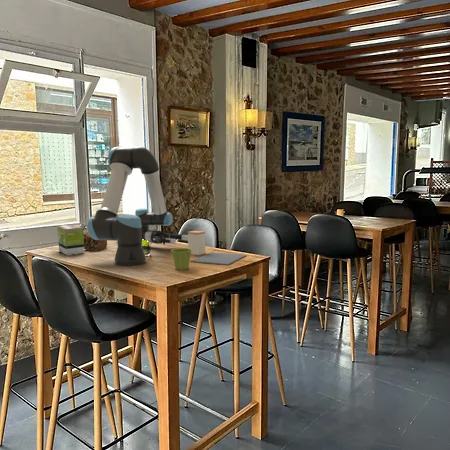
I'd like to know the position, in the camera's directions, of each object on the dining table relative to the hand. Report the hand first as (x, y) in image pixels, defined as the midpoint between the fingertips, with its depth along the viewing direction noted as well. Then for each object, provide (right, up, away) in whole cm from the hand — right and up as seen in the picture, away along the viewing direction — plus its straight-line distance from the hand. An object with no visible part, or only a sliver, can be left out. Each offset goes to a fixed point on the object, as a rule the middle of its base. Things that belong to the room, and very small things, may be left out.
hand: (183, 240), depth 236 cm
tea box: (-62, -7, +1) cm, 62 cm away
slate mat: (+20, -9, -19) cm, 29 cm away
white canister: (+8, -7, -4) cm, 11 cm away
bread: (-56, -6, +13) cm, 57 cm away
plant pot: (+3, -12, -39) cm, 41 cm away
